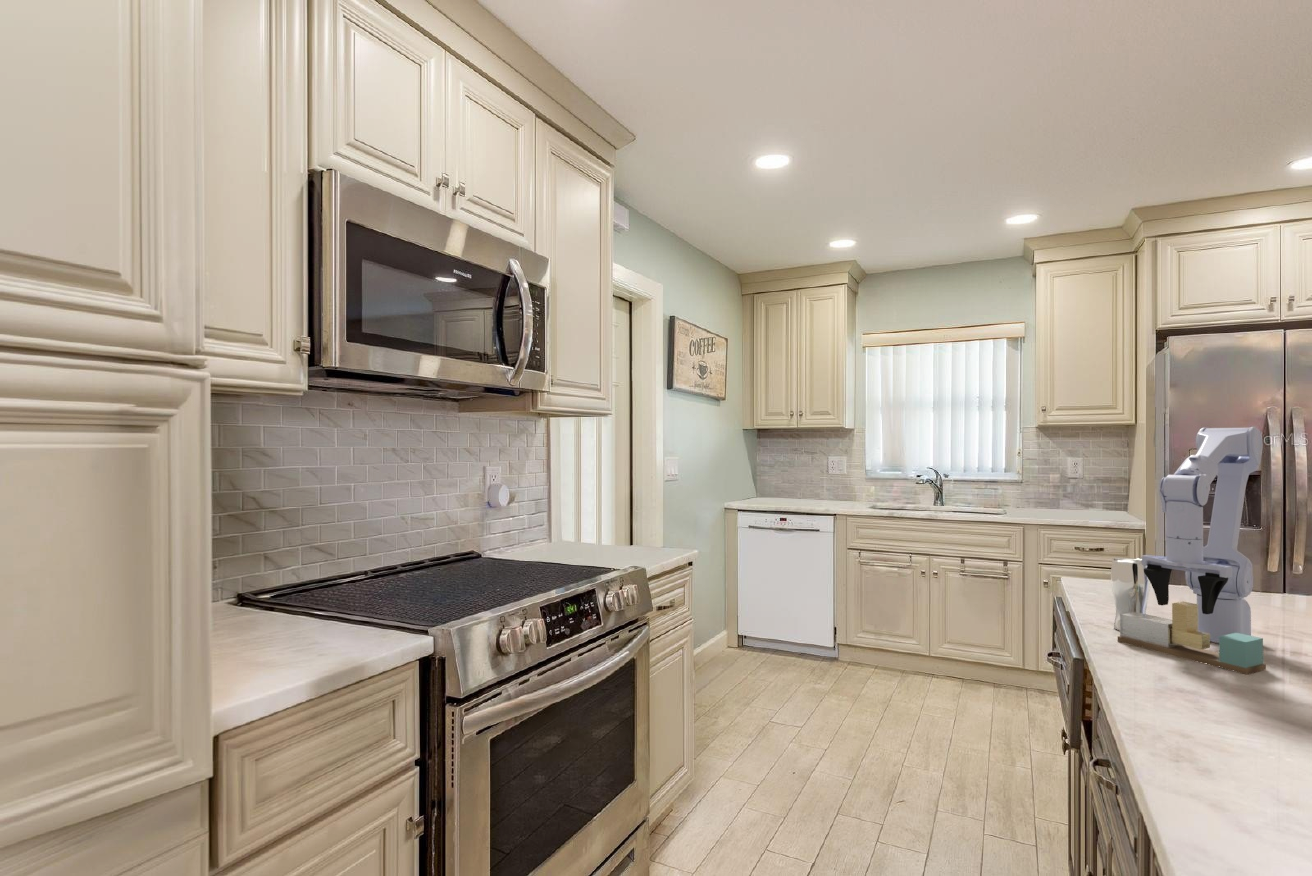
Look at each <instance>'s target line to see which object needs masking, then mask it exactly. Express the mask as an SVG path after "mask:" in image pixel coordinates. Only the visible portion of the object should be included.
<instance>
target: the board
mask: <svg viewBox="0 0 1312 876" xmlns="http://www.w3.org/2000/svg"><path fill="white" fill-rule="evenodd" d="M1117 642H1119V643H1123V644H1127V645H1131V646H1134V647H1138V648H1140V649H1141V648H1142V649H1146V650H1149V651H1153V652H1157V653H1161V654H1166V655H1170V656H1173V657H1177V658H1180V659H1181V658H1182V659H1185V660H1189V661H1194V662H1196V661H1198V662H1197V663H1200V662H1202V663H1201V664H1204V663H1207V664H1206V665H1208V664H1210V665H1209V666H1212V665H1213V666H1212V667H1216V666H1220V667H1223V668H1222V669H1224V668H1226V669H1225V670H1228V669H1229V670H1228V671H1231V670H1234V671H1233V672H1235V671H1237V672H1236V673H1239V672H1240V673H1239V674H1244V675H1249V674H1250V675H1251V674H1256V673H1259V672H1262V671H1266V670H1267V664H1266V663H1264V662H1263V664H1260V665H1256V666H1252V667H1248V668H1243V667H1239V666H1235V665H1231V664H1227V663H1223V662H1219V651H1218V652H1217V651H1214V650H1209V649H1198V648H1193V647H1189V646H1185V645H1180V646H1175V647H1171V648H1166V647H1162V646H1158V645H1154V644H1150V643H1146V642H1142V641H1138V640H1134V639H1130V638H1126V637H1122V636H1120V635H1118V636H1117ZM1220 667H1219V668H1220Z"/></svg>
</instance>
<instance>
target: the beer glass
mask: <svg viewBox="0 0 1312 876" xmlns="http://www.w3.org/2000/svg"><path fill="white" fill-rule="evenodd" d="M1144 568H1147V566H1145V565H1141V558H1132V557H1131V558H1130V557H1114V558H1112V559H1111V568H1110V569H1111V570H1110V582H1111V585H1110V586H1111V591H1112V597H1113V601H1114V605H1115V606H1114V607H1115V619H1114V624H1113V628H1114V630H1116V629H1117V630H1116V631H1118V630H1120V614H1122V613H1128V612H1138V613H1142V614H1146V613H1147V607H1148V606H1147V605H1148V602H1149V598H1150V597H1149V596H1150V591H1151V583H1150V581H1149V579H1148V577H1147V576H1146V574H1145V573H1144Z"/></svg>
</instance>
